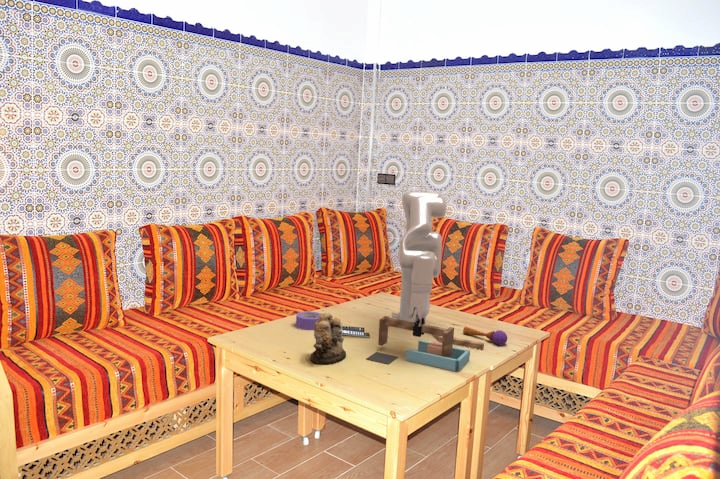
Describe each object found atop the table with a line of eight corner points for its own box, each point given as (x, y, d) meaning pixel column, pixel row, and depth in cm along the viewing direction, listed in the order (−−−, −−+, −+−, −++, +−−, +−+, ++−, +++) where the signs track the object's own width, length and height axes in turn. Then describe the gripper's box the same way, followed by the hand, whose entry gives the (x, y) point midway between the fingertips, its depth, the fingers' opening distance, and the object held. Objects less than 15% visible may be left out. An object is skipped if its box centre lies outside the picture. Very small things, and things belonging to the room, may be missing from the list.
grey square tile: (365, 359, 212) (366, 358, 212) (376, 352, 220) (376, 351, 220) (388, 364, 208) (388, 363, 208) (398, 357, 216) (398, 356, 216)
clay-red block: (425, 361, 213) (427, 345, 213) (431, 356, 219) (432, 341, 218) (441, 364, 211) (442, 348, 210) (446, 359, 216) (447, 344, 215)
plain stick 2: (448, 344, 235) (448, 338, 235) (450, 342, 237) (450, 336, 237) (481, 350, 229) (482, 344, 229) (483, 349, 231) (484, 343, 231)
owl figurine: (331, 368, 201) (333, 321, 199) (301, 362, 206) (302, 316, 203) (352, 353, 218) (354, 309, 215) (324, 348, 222) (325, 305, 220)
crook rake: (376, 346, 221) (378, 319, 220) (385, 340, 228) (386, 315, 227) (445, 361, 209) (447, 333, 208) (452, 354, 216) (454, 327, 215)
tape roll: (323, 322, 255) (324, 311, 254) (322, 330, 243) (323, 319, 243) (296, 321, 254) (297, 310, 254) (294, 329, 243) (295, 318, 242)
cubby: (405, 360, 213) (406, 349, 213) (418, 350, 225) (419, 340, 224) (458, 372, 204) (459, 361, 204) (469, 360, 216) (470, 350, 215)
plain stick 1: (448, 345, 234) (449, 339, 234) (442, 345, 233) (443, 339, 233) (436, 334, 247) (436, 328, 247) (430, 334, 247) (431, 328, 246)
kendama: (470, 323, 251) (510, 331, 237) (468, 337, 251) (509, 346, 237) (462, 323, 247) (503, 331, 233) (460, 337, 247) (501, 346, 233)
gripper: (420, 282, 223) (416, 328, 226) (404, 290, 209) (400, 338, 212) (438, 285, 220) (435, 331, 223) (423, 293, 206) (420, 342, 208)
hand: (418, 334), depth 217 cm, fingers closed on crook rake, 2 cm apart
